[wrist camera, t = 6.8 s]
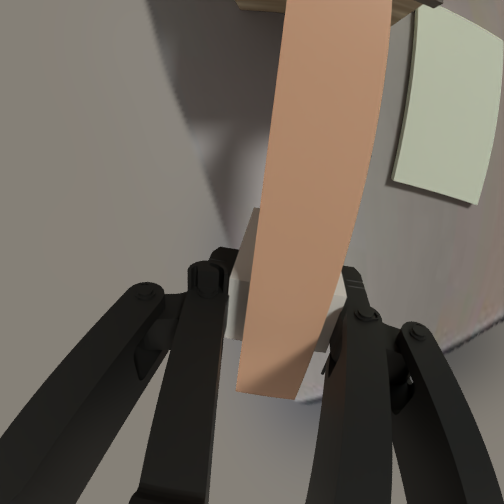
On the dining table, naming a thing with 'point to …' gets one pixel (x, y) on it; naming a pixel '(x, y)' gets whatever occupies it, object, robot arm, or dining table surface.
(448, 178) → the mat
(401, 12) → the brown boxy piece
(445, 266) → the dining table surface
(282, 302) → the tan rectangular slab
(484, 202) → the dining table surface
